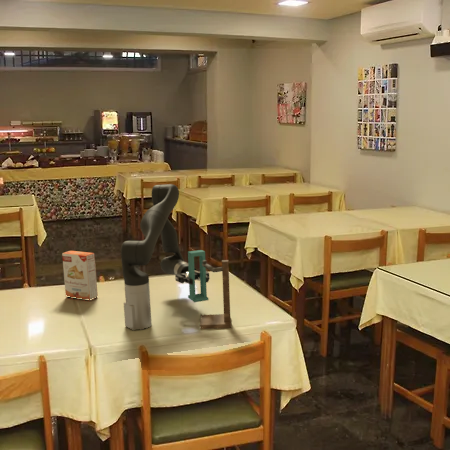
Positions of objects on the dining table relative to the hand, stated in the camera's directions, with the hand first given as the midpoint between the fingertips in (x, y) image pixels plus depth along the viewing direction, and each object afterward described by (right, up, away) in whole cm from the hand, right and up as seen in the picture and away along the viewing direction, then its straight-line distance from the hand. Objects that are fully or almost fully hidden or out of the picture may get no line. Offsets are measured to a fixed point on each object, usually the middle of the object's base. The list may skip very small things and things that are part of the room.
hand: (199, 281), depth 238 cm
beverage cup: (-34, -6, +53) cm, 63 cm away
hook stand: (+6, -15, -7) cm, 18 cm away
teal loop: (-1, -8, +4) cm, 8 cm away
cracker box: (-54, -11, +31) cm, 63 cm away
